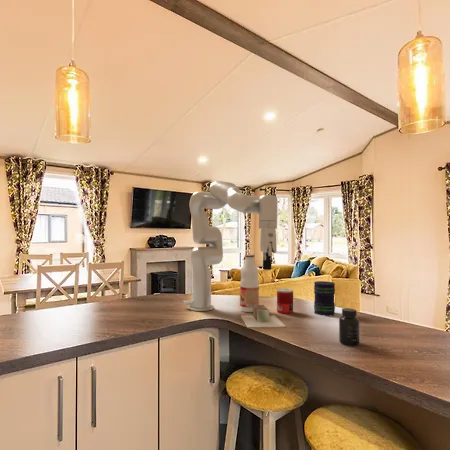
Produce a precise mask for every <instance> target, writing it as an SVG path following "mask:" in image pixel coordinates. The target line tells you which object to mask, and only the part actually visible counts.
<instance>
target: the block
mask: <svg viewBox="0 0 450 450" xmlns="http://www.w3.org/2000/svg"><path fill="white" fill-rule="evenodd" d="M269 315H270V309H268V308H267V306H265V305H264V304H259V305H253V312H252V316H253V317H254V318H255V319H256V321H257V322H269Z"/></svg>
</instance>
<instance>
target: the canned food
mask: <svg viewBox="0 0 450 450" xmlns="http://www.w3.org/2000/svg"><path fill="white" fill-rule="evenodd" d="M276 311H277V313H278V314H282V315H290V314H293V312H294V290H293V289H289V288H278V289H277V290H276Z"/></svg>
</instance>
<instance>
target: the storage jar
mask: <svg viewBox="0 0 450 450" xmlns="http://www.w3.org/2000/svg"><path fill="white" fill-rule="evenodd" d="M313 283H314V285H313V290H314V291H313V293H314V302H313V308H314V309H313V310H314V314H315V315H319V316H323V315H326V316H325V317H330V315H332V316H335V315H334V314H335V310H336V304H335V295H336V292H335V291H336V289H335V288H336V286H335V285H336V284H335V282H332V281H322V280H321V281H319V280H317V281H314V282H313Z"/></svg>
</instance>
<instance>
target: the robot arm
mask: <svg viewBox="0 0 450 450" xmlns="http://www.w3.org/2000/svg"><path fill="white" fill-rule="evenodd" d="M227 205H228V207H229V208H231V209H233V210H236V211H238V212H240V213H244V214H256V215H257V214H258V229H260V240H259V241H260V243H259V246H260V247H259V249H260V252H262V270H264V271H271V270H272V256H273V254H276V253H277V247H278V246H277V229H278V197H277V196H276V195H271V194H264V195H261V196H256V195H251V194H250V195H249V194H244V193H242V191H241V190H240V188H239V187H237V185H236V184H235V183H234V182H233V183H232V182H228V181H223V180H216V181H214V182H212V183H211V184H210V186H209V191H195V192H194V193H193V194H192V195H191V196H190V200H189V211H190V215H191V224H192V225H191V226H192V227H191V228H192V239H193V242H194V243H195V244H197V245H209V246H197V247H194V248H193V249H192V250H191V252H190V260H191V265H192V266H191V267H192V286H191V287H192V294H191V295H192V297H191V299H190V300H183V305H185V306H188V308H189V310H191V311H194V312H207V311H212V310H214V309H215V307H214V305H213V304H212V272H211V269H210V267H209V266H211V265H212V266H214V265H218V264H220V263H221V262H222V261H223V258H224V248H223V236H222V232H221V230H220V228H219V227H217V226H214V225H213V226H210V224H209V216H208V214H207V213H206V211H205V209H208V210H209V209H210V210H220V209H222V208H223V207H225V206H227Z"/></svg>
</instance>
